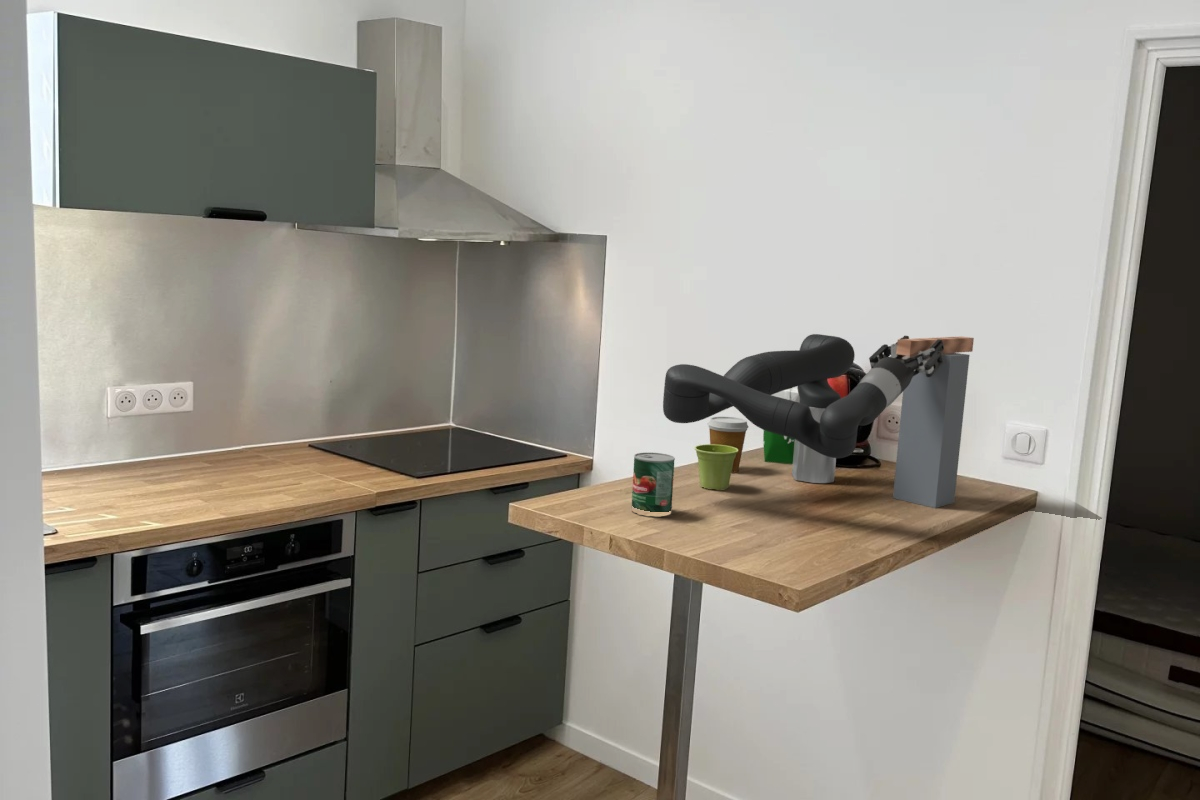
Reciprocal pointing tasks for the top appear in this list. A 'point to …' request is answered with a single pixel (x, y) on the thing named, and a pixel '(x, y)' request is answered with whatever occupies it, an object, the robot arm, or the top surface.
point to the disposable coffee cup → (729, 435)
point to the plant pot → (715, 465)
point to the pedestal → (931, 434)
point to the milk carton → (780, 436)
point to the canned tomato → (653, 482)
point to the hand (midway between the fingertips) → (924, 341)
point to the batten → (925, 343)
